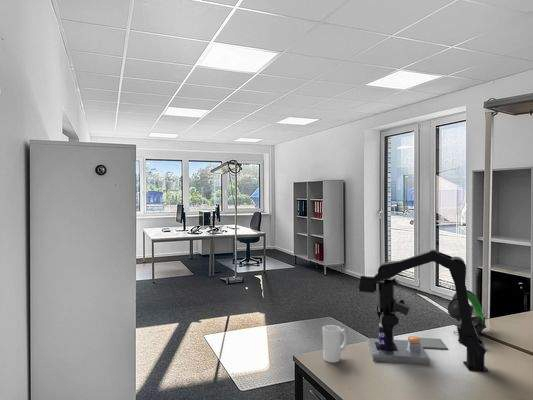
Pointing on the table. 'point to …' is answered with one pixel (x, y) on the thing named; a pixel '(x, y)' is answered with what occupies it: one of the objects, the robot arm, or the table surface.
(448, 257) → the robot arm
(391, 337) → the beverage can
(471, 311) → the headset
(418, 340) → the peach dome cap
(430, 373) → the table surface
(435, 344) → the pad
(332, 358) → the mug
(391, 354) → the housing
